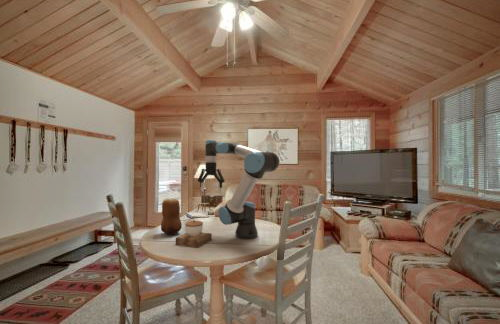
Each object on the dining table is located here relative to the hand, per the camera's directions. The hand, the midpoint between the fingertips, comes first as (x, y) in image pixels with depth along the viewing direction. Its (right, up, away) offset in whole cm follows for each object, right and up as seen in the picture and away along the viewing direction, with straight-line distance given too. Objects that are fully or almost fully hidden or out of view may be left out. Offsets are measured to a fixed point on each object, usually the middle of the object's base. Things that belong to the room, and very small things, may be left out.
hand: (211, 192), depth 183 cm
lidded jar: (-8, -25, -20) cm, 33 cm away
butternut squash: (-27, -29, -4) cm, 40 cm away
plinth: (-8, -29, -20) cm, 36 cm away
